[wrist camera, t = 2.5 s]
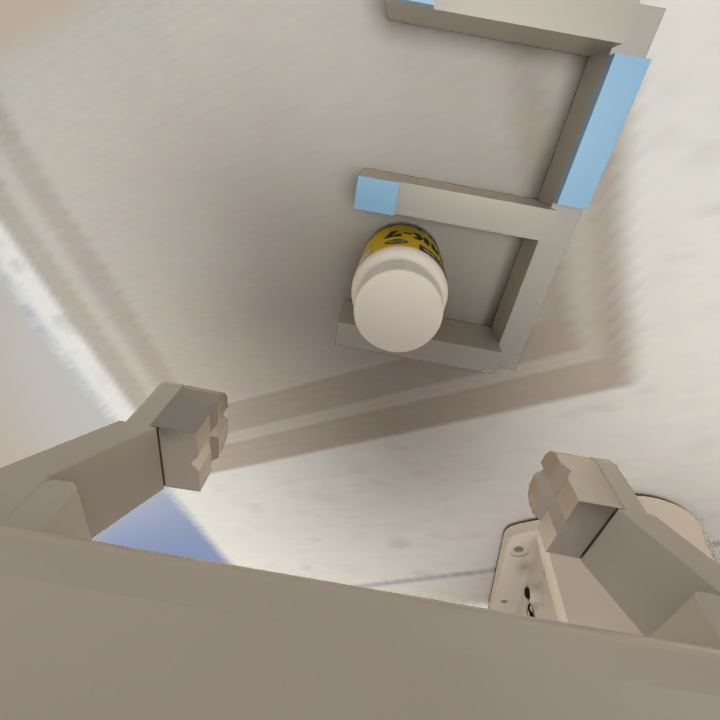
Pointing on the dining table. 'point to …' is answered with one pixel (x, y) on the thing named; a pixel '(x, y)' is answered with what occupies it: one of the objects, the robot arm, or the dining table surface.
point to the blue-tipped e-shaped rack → (565, 174)
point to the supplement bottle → (399, 288)
